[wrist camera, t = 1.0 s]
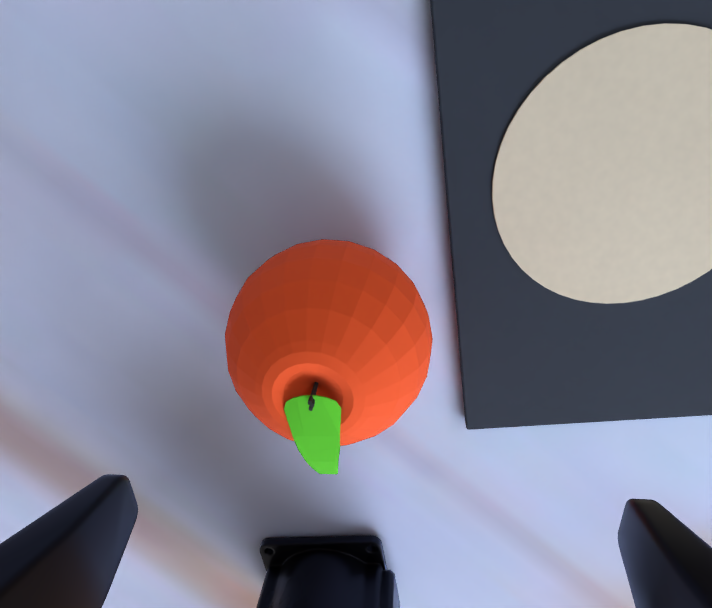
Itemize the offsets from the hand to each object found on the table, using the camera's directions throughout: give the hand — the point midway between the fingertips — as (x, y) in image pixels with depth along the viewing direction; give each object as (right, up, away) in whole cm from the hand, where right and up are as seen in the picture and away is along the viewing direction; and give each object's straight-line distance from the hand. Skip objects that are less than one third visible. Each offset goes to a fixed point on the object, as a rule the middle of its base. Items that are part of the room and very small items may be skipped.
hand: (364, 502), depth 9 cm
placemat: (+9, +8, +8) cm, 14 cm away
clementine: (-1, +3, +11) cm, 12 cm away
